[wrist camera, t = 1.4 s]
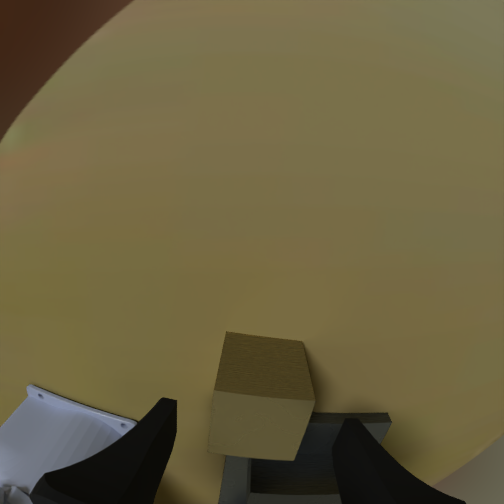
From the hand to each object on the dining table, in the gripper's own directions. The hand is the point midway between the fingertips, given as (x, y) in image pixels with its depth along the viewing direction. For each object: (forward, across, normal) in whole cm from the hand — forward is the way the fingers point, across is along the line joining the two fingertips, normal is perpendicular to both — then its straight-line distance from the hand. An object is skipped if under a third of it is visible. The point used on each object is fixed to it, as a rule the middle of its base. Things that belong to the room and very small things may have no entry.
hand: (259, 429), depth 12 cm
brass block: (+5, 0, 0) cm, 5 cm away
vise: (+5, -4, +11) cm, 13 cm away
